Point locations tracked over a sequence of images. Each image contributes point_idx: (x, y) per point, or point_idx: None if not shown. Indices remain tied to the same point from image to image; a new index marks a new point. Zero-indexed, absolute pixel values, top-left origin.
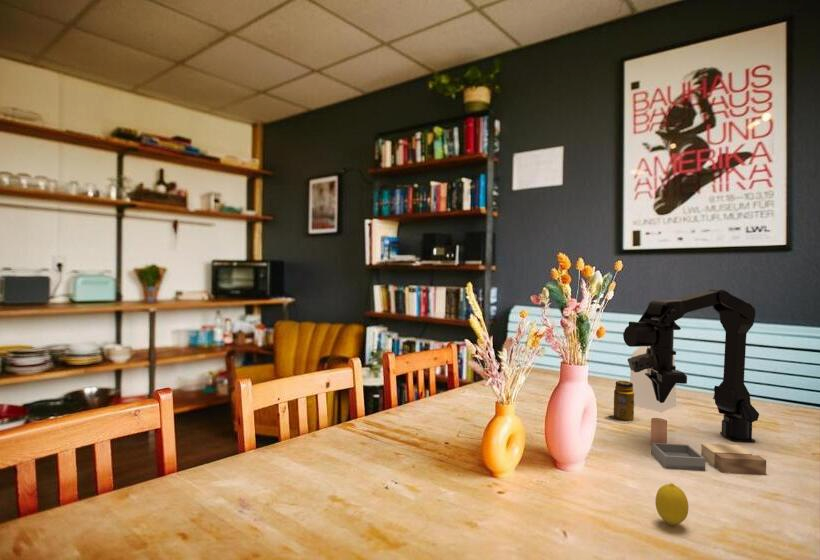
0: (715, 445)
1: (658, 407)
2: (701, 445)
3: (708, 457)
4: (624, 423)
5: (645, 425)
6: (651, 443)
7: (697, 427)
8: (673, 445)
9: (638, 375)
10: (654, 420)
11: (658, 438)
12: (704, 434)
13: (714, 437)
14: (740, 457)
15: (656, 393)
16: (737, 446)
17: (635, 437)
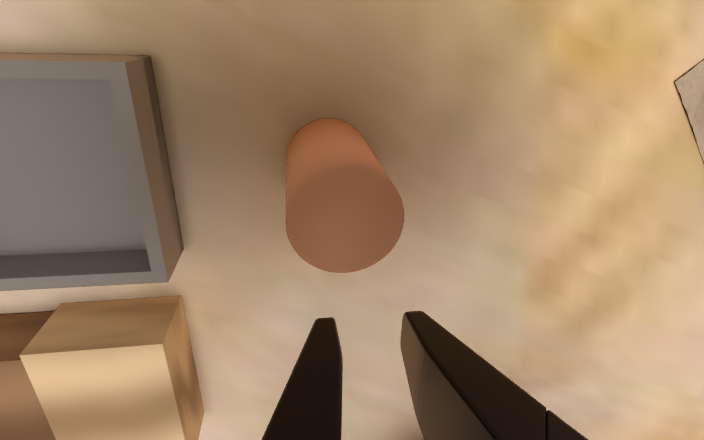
0: (151, 392)
1: None
2: (161, 337)
3: (92, 319)
4: (679, 85)
5: (627, 196)
6: (123, 61)
7: (565, 391)
8: (137, 199)
9: None
10: (331, 183)
11: (289, 160)
12: None
13: None
14: (9, 436)
15: (437, 374)
16: None
17: (444, 65)
